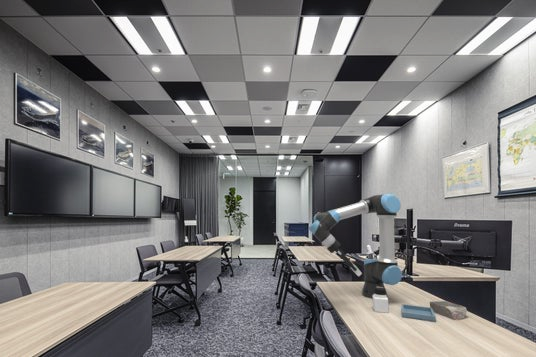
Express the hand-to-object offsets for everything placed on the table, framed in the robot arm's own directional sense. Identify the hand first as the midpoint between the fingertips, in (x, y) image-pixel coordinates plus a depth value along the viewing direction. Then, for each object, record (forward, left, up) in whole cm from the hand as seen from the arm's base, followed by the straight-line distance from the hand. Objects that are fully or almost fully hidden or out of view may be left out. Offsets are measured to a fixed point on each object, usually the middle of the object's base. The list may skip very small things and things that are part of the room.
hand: (358, 272), depth 159 cm
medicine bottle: (-3, +11, -20) cm, 23 cm away
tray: (-4, +29, -20) cm, 35 cm away
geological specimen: (-13, +44, -20) cm, 50 cm away
